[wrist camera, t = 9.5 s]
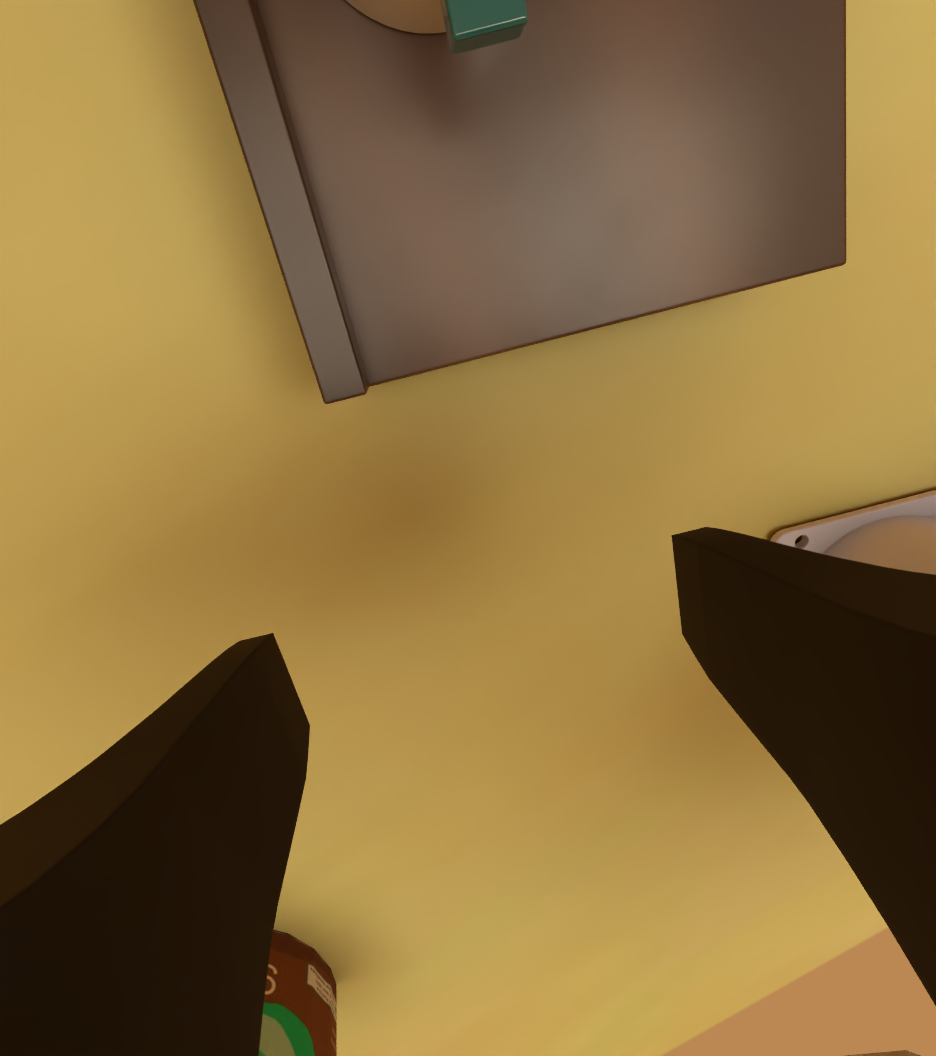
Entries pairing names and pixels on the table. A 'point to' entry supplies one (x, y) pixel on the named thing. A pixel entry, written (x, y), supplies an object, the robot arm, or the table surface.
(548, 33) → the shelf
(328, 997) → the food container
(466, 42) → the pot
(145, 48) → the table surface
